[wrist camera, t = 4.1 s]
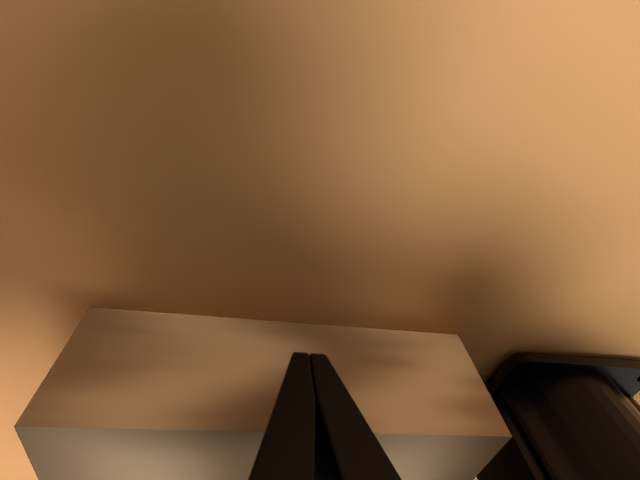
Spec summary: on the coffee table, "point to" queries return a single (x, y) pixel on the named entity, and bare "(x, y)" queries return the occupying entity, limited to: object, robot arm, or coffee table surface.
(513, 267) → the coffee table surface
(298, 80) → the coffee table surface
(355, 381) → the beige rectangular block
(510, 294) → the coffee table surface
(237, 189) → the coffee table surface
